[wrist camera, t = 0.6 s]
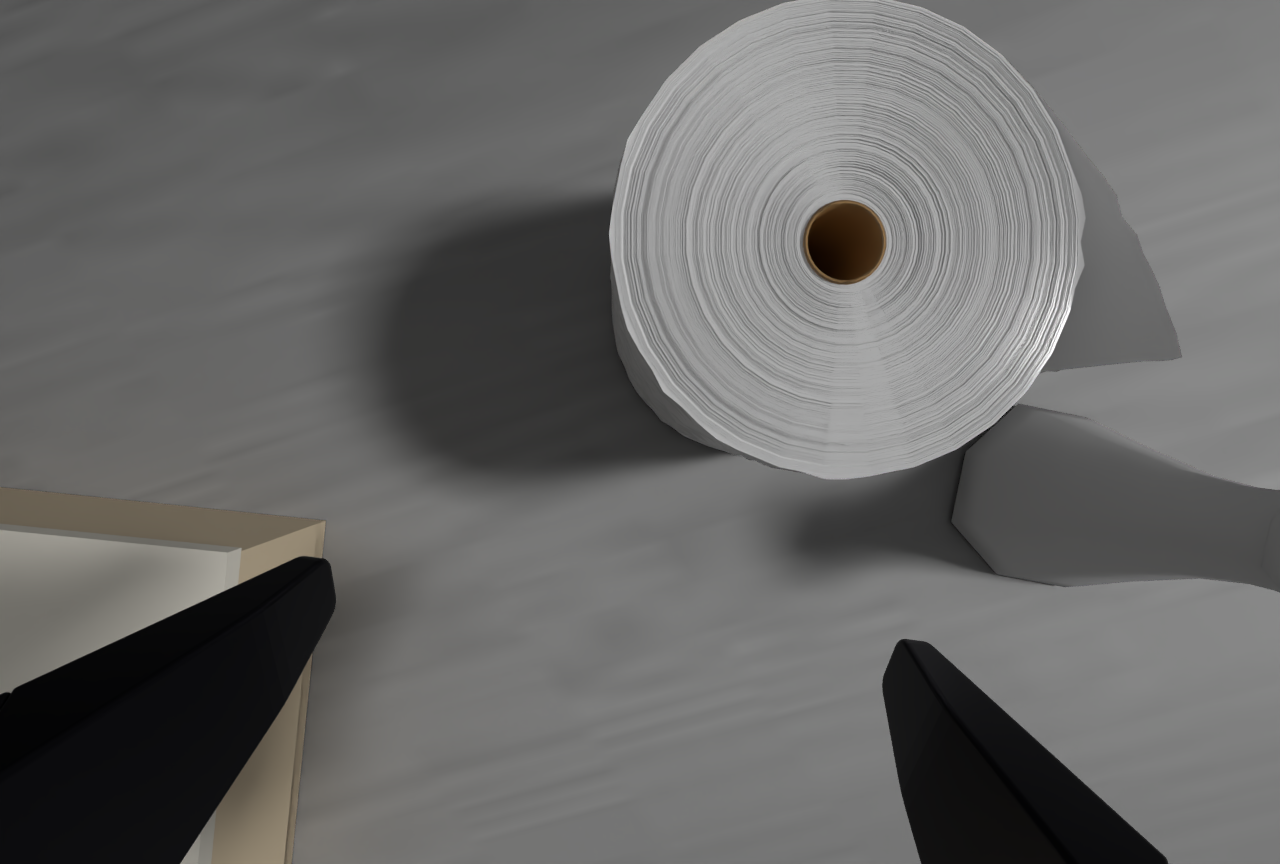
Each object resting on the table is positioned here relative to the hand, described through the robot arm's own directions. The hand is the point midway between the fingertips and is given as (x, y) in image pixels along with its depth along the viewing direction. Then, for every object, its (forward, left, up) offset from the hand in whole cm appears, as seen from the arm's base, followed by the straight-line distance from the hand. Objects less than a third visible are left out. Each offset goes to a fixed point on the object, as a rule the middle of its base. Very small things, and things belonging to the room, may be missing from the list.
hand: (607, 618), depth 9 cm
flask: (+2, -17, -14) cm, 22 cm away
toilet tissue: (+8, -5, -14) cm, 17 cm away
